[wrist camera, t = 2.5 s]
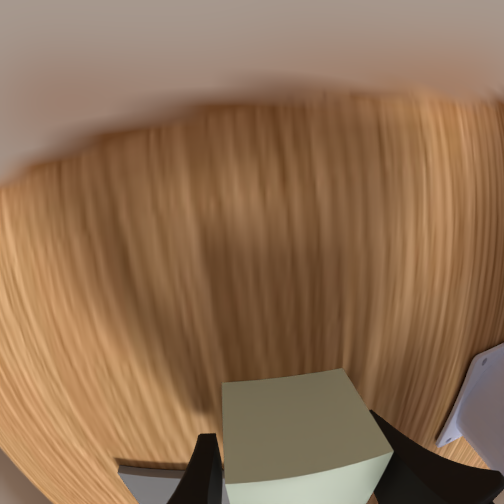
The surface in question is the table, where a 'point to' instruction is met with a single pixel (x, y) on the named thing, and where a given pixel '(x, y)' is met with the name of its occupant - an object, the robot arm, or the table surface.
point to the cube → (300, 441)
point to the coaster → (156, 484)
